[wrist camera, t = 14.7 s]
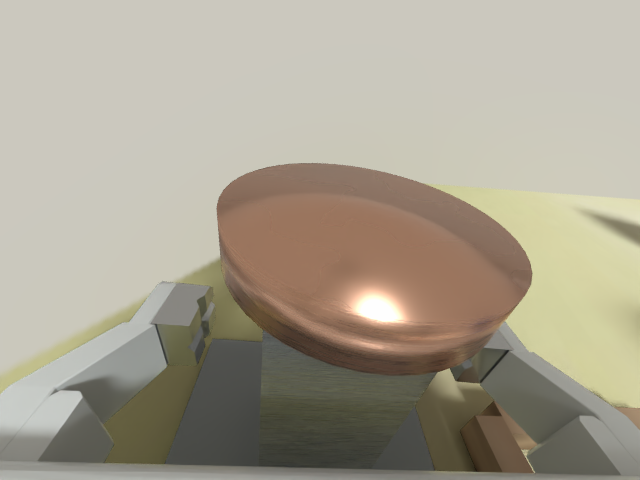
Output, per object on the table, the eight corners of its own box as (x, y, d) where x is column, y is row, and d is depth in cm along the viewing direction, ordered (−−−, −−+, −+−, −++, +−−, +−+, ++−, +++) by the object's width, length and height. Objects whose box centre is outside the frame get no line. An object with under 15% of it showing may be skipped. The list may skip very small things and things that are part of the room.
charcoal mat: (105, 633, 8) (99, 633, 7) (213, 344, 16) (212, 338, 16) (473, 620, 9) (480, 619, 9) (395, 356, 17) (397, 351, 17)
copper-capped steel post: (217, 539, 9) (138, 298, 3) (252, 369, 15) (252, 152, 8) (388, 537, 10) (645, 338, 3) (361, 375, 15) (441, 178, 9)
